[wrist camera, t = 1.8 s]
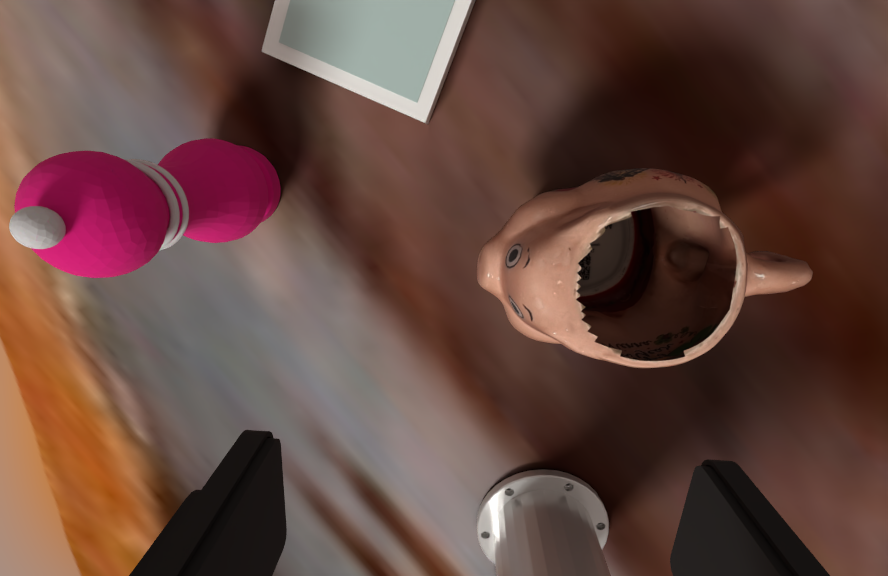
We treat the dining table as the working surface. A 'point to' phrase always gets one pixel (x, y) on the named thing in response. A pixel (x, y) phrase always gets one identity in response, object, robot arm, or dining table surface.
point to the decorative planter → (629, 268)
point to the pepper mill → (140, 204)
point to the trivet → (373, 46)
